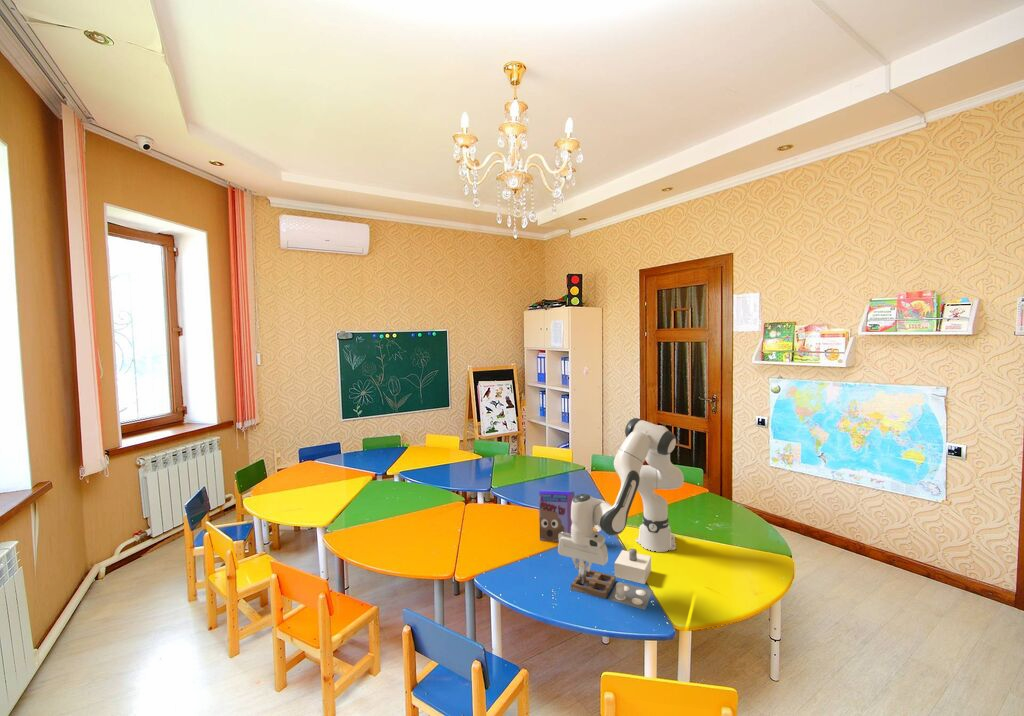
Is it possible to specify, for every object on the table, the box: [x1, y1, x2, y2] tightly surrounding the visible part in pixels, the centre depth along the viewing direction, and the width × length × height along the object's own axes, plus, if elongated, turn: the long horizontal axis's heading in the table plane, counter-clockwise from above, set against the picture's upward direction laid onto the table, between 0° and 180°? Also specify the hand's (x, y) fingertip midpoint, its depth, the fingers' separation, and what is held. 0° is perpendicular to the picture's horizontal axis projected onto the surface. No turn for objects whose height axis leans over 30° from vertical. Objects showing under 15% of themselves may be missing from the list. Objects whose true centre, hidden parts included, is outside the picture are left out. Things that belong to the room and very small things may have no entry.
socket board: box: [570, 569, 616, 600], centre depth 179 cm, size 14×14×3 cm
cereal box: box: [538, 490, 575, 542], centre depth 222 cm, size 17×5×24 cm, turn 81°
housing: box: [614, 548, 652, 585], centre depth 187 cm, size 12×12×11 cm
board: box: [607, 581, 654, 611], centre depth 172 cm, size 14×14×6 cm
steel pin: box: [578, 559, 587, 584], centre depth 177 cm, size 3×3×10 cm
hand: (582, 569), depth 177 cm, fingers closed on steel pin, 3 cm apart
